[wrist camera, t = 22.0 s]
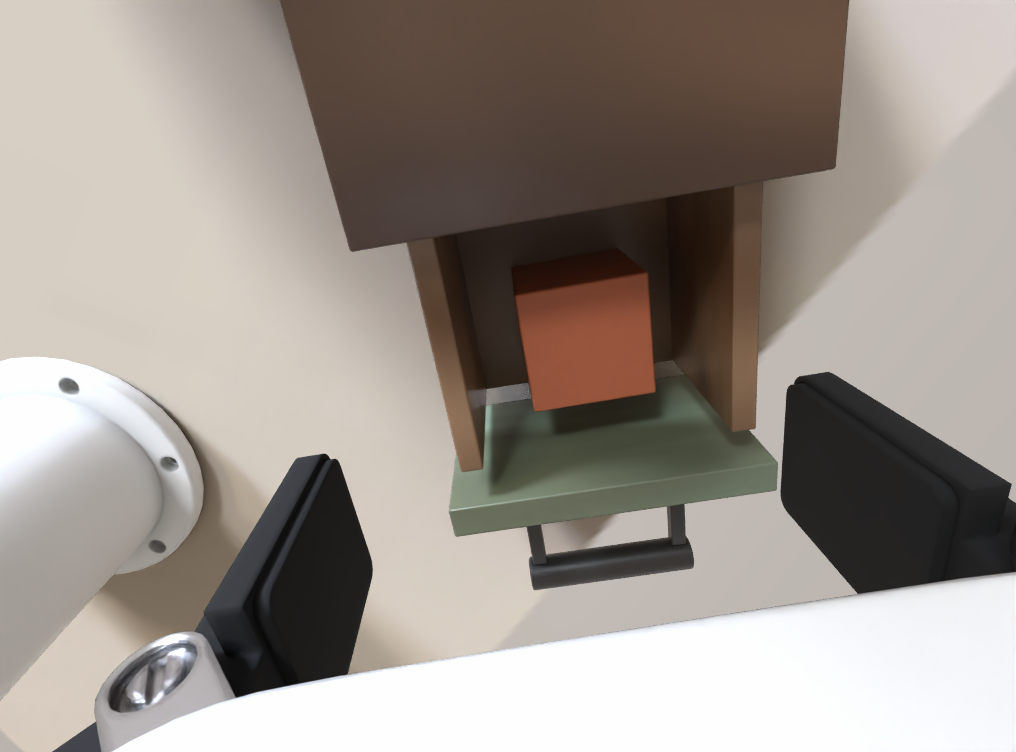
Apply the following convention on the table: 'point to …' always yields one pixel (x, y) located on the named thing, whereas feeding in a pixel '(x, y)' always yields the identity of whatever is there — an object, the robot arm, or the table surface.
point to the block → (585, 329)
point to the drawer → (612, 423)
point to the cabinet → (559, 104)
